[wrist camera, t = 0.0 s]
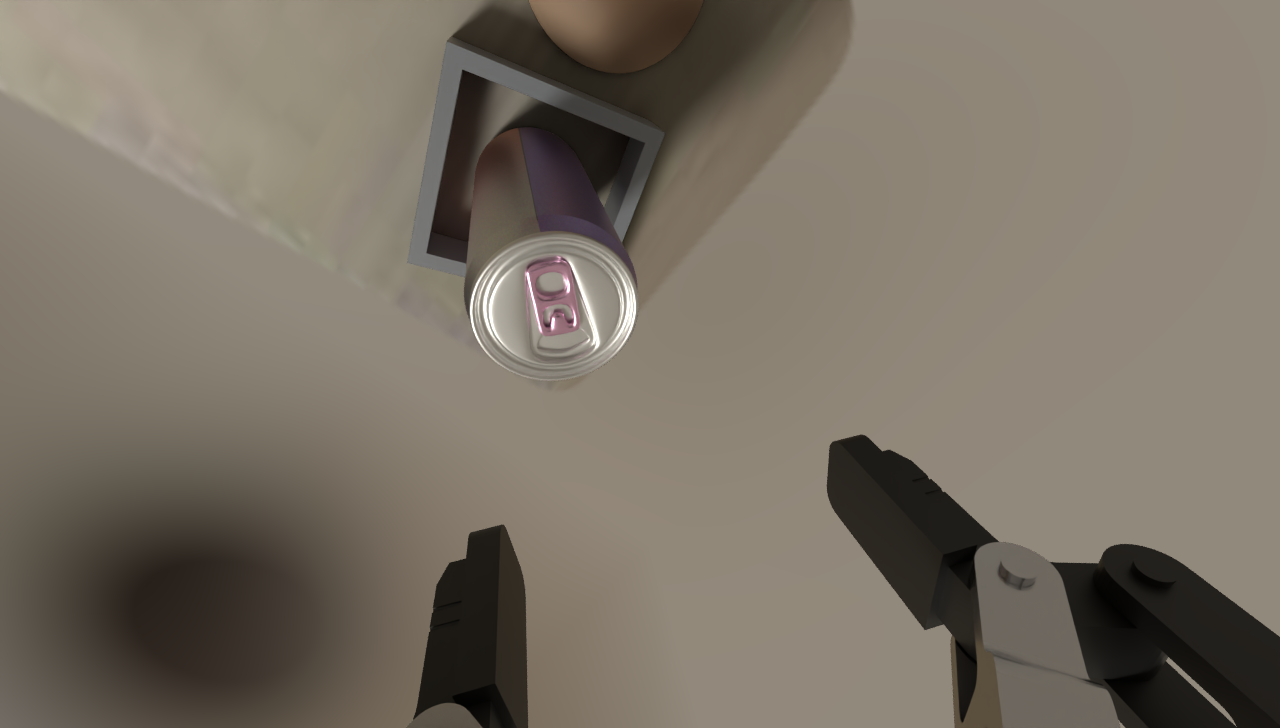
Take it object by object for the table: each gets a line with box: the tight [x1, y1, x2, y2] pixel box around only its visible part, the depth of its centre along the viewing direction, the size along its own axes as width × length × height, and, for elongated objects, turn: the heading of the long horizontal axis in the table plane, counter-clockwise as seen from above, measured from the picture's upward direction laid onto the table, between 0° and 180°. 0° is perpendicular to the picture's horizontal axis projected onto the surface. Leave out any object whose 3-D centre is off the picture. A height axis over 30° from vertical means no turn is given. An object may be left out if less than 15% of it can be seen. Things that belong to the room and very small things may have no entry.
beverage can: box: [464, 127, 639, 381], centre depth 23 cm, size 6×6×15 cm
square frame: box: [407, 36, 665, 277], centre depth 27 cm, size 11×11×3 cm
